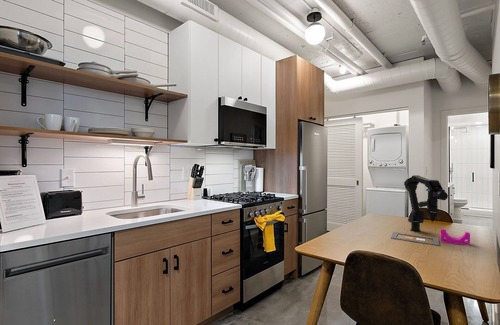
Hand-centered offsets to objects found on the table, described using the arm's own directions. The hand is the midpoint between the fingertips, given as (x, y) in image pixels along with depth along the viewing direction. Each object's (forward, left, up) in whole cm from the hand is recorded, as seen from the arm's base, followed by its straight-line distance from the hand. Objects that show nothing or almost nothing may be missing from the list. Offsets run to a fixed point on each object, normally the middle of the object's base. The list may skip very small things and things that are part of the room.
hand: (432, 220), depth 182 cm
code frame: (+11, -10, -12) cm, 19 cm away
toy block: (+5, +12, -12) cm, 18 cm away
